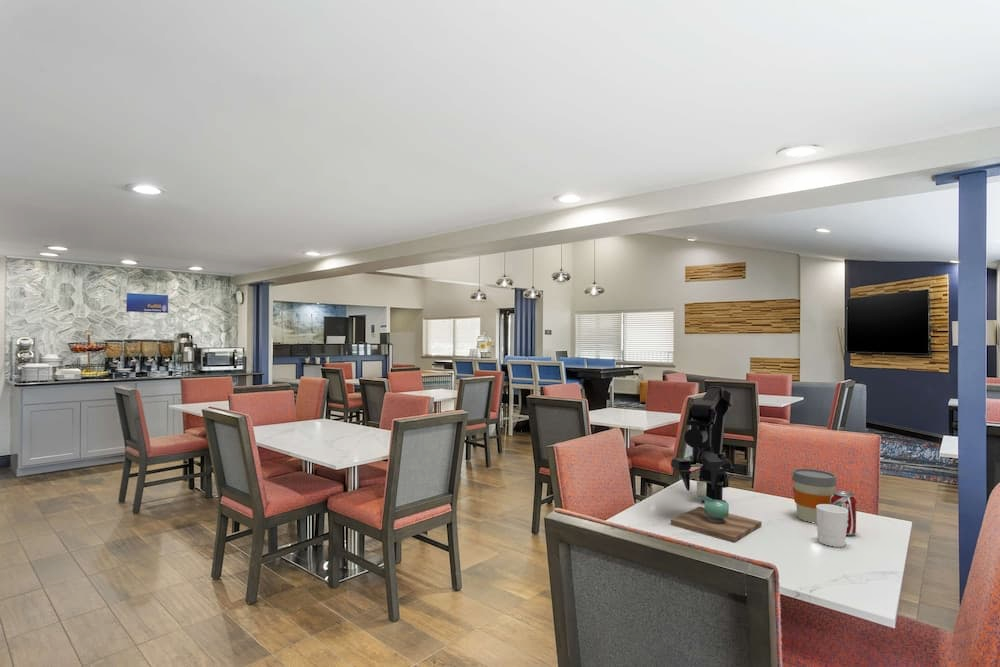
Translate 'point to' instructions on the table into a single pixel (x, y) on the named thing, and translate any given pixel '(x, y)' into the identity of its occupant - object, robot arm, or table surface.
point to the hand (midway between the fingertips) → (700, 489)
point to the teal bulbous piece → (712, 503)
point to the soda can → (848, 503)
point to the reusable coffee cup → (812, 491)
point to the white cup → (831, 524)
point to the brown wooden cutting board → (717, 524)
